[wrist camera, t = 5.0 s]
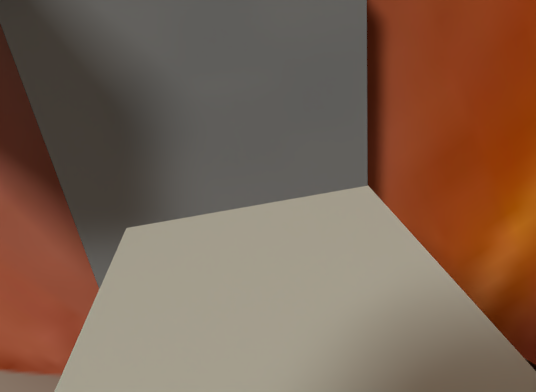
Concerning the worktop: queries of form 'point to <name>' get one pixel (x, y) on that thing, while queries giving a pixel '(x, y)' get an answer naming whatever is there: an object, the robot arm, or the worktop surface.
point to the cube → (287, 308)
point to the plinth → (191, 104)
